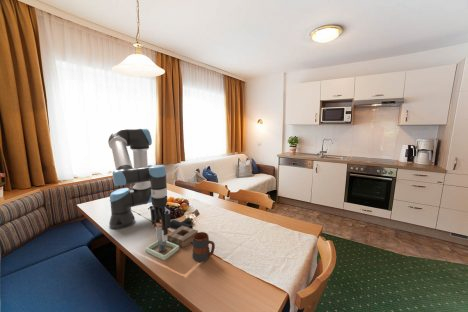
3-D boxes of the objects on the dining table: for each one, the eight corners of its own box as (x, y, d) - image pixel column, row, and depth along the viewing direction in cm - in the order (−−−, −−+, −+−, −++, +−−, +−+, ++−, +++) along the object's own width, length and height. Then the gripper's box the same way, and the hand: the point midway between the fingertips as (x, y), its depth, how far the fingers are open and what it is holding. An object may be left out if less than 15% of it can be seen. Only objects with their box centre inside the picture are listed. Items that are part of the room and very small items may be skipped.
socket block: (167, 243, 110) (167, 234, 109) (182, 233, 120) (182, 225, 120) (183, 249, 104) (183, 240, 104) (197, 238, 115) (197, 230, 114)
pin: (155, 249, 101) (153, 223, 99) (162, 245, 105) (161, 219, 103) (161, 252, 99) (160, 225, 96) (169, 247, 103) (167, 221, 101)
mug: (210, 266, 91) (210, 244, 90) (189, 260, 96) (188, 238, 94) (218, 255, 99) (218, 234, 98) (198, 250, 104) (197, 230, 102)
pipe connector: (182, 214, 135) (199, 219, 128) (182, 221, 136) (199, 226, 129) (169, 221, 125) (187, 227, 118) (170, 229, 126) (187, 235, 119)
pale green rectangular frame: (145, 253, 101) (145, 247, 101) (161, 243, 110) (160, 238, 109) (164, 262, 94) (164, 256, 94) (179, 250, 103) (179, 245, 103)
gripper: (141, 195, 98) (144, 237, 102) (165, 201, 90) (167, 247, 94) (154, 191, 105) (156, 231, 108) (177, 196, 97) (179, 239, 100)
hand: (161, 238), depth 101 cm, fingers closed on pin, 4 cm apart
